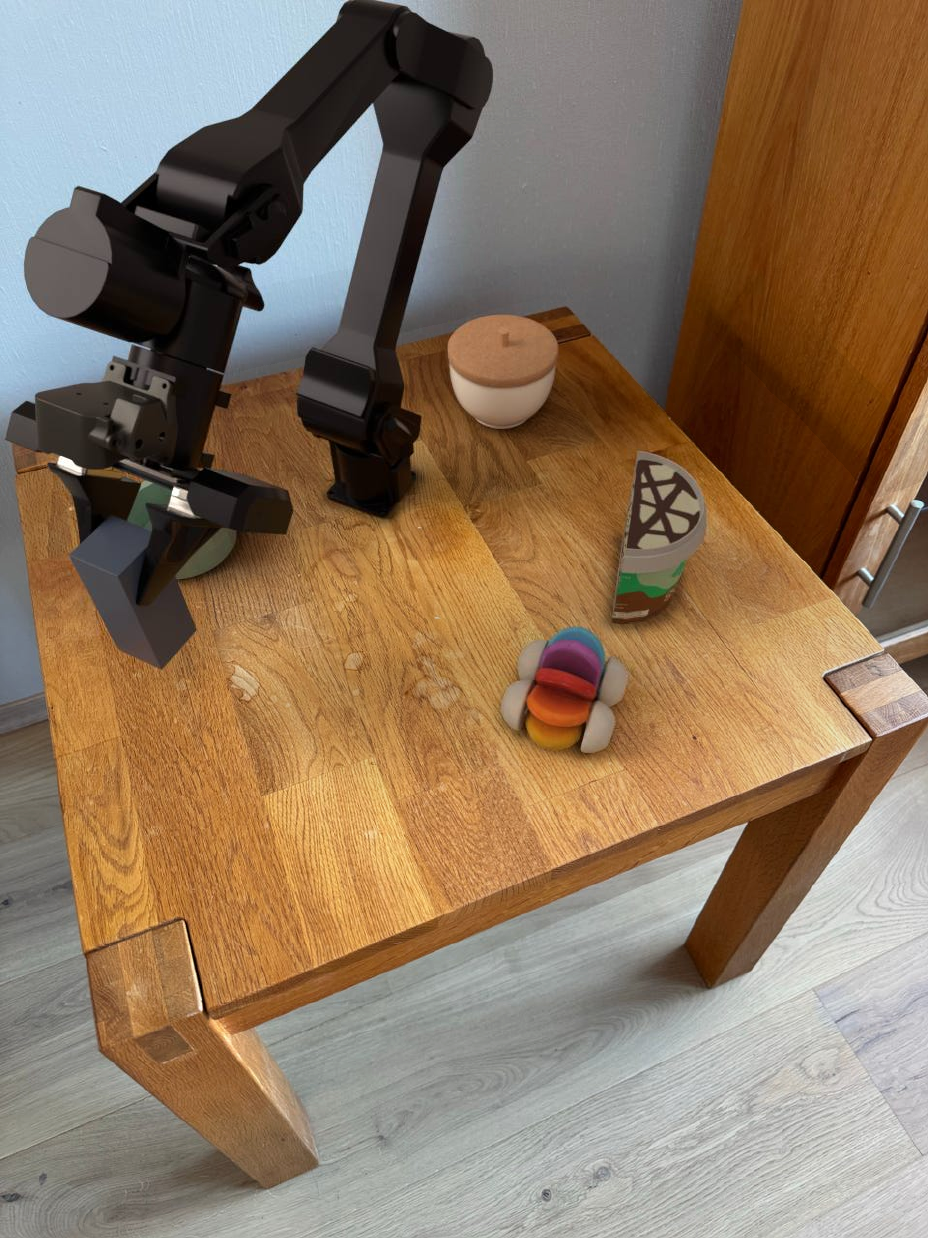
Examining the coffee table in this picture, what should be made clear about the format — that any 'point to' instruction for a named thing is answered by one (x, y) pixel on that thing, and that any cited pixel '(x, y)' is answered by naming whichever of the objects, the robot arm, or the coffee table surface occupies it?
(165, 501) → the bowl
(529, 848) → the coffee table surface
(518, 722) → the rainbow wheeled toy
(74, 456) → the robot arm
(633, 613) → the food container
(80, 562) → the block
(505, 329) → the trinket box
